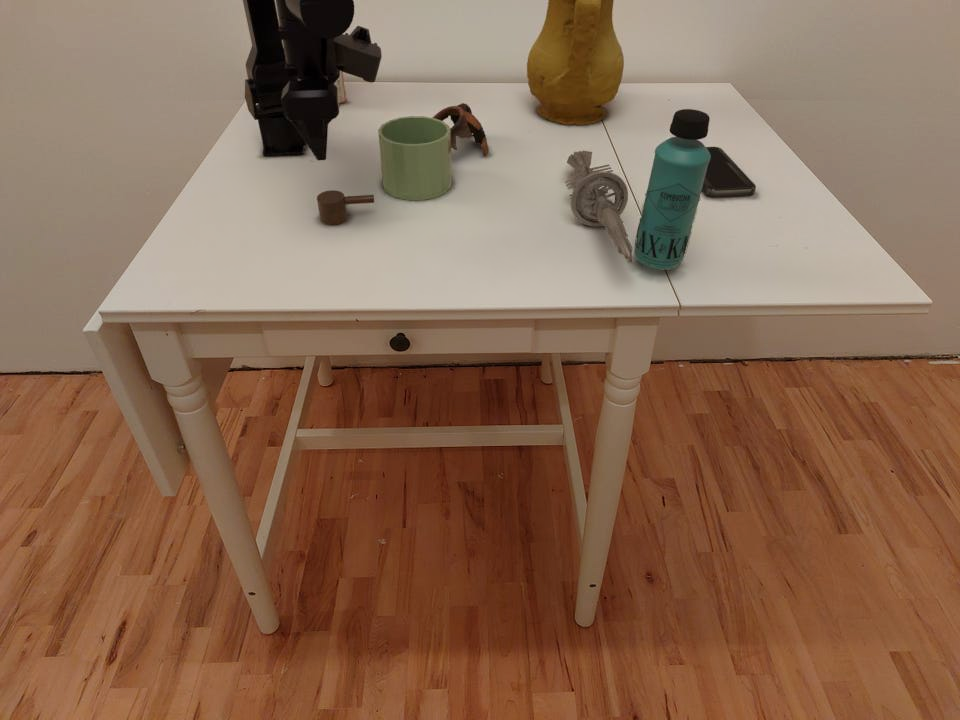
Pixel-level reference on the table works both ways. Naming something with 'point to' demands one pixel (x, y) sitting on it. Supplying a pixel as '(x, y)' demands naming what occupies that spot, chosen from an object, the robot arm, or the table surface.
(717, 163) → the phone
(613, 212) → the spaceship
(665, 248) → the beverage bottle
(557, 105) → the pitcher
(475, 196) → the table surface
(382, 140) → the green round container
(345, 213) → the scoop
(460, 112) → the gnarled wooden root
